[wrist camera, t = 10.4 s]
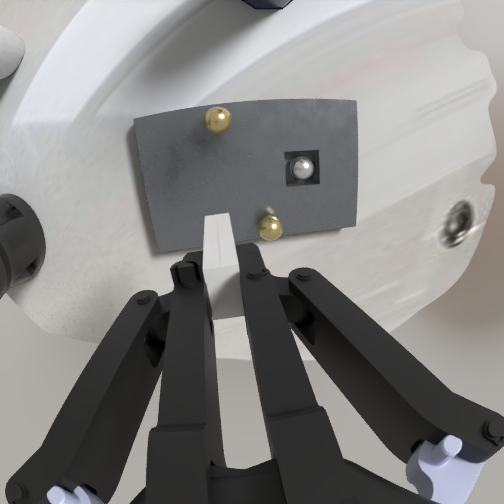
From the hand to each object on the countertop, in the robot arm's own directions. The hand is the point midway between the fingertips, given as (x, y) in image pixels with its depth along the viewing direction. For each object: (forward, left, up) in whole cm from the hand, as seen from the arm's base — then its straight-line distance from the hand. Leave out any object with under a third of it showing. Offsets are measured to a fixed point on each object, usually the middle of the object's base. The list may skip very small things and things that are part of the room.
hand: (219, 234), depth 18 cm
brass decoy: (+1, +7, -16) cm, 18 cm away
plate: (+5, 0, -20) cm, 21 cm away
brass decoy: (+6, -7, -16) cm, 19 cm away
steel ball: (+11, 0, -19) cm, 22 cm away
